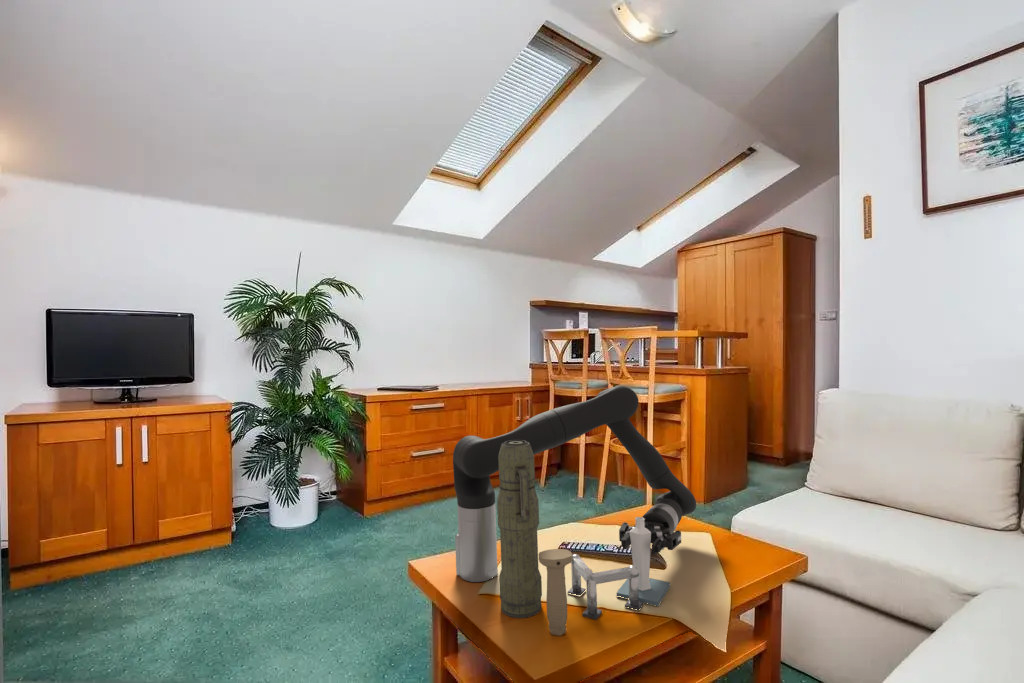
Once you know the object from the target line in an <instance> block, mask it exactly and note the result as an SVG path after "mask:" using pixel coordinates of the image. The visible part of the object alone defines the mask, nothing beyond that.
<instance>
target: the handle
mask: <svg viewBox="0 0 1024 683" xmlns="http://www.w3.org/2000/svg"><path fill="white" fill-rule="evenodd" d="M572 555H573V553H572V552H571V551H570V550H569V549H563V548H562V549H561V548H552V549H546V550H542V551H539V552H538V563H540V564H541V565H542V566H544V567H546V572H547V573H546V615H547V621H548V628H549V632H550V634H551V635H555V636H557V637H561V636H562V635H564V634H566V632H567V621H568V620H567V619H568V597H567V595H568V594H567V588H566V587H567V586H566V577H565V576H566V574H565V572H566V571H565V569H566V568H565V567H566V566H567V565H569V564H571V562H572Z"/></svg>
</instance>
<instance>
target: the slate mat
mask: <svg viewBox="0 0 1024 683" xmlns="http://www.w3.org/2000/svg"><path fill="white" fill-rule="evenodd" d="M649 582H650V586H651V589H648V590H644V591H641V590H639V589H638V592H639V601H642V602H643V603H648V604H652V605H656V606H658V607H659V606H660V605H661V603H662V601H663V600H662V599H664V598H665V596H666V595H667V593H668V591H669V589H670V588H671V582H670V581H665V580H662V579H661V580H660V579H655V578H652V577H651V578H650V577H649ZM665 594H666V595H665ZM617 596H621V597H624V598H629V585H628V579H625V581H624V583H622V585H621V586H620V588H618V590H617V591H616V597H617ZM663 597H664V598H663ZM660 602H661V603H660ZM648 604H647V605H648ZM659 604H660V605H659ZM652 605H651V606H652ZM656 606H655V607H656Z"/></svg>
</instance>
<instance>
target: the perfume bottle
mask: <svg viewBox="0 0 1024 683" xmlns="http://www.w3.org/2000/svg"><path fill="white" fill-rule="evenodd" d="M634 520H635V525H636V527H634V526H633V527H634V528H632V529H631V530H630V539H631V545H630V547H631V558H632V565H634V566H636V567H637V568H638V569H639V576H638V589H639V590H641V591H644V590H648V589H651V586H650V582H649V578H650V567H651V566H650V565H651V564H650V563H651V547H652V543H651V532H650V531H649V530H648V529H647V528H645V527H644V520H645V519H644V518H643V516H636V517H635V518H634Z"/></svg>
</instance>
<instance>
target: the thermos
mask: <svg viewBox="0 0 1024 683" xmlns="http://www.w3.org/2000/svg"><path fill="white" fill-rule="evenodd" d="M498 459H499V471H498V480H499V483H500V484H499V490H498V495H497V498H496V506H497V507H496V509H497V510H496V511H497V512H496V514H497V527H498V528H499V533H500V535H499V536H500V559H501V560H500V562H501V563H500V564H501V566H500V567H501V570H500V573H499V575H498V578H499V581H498V582H499V598H500V610H501V612H502V613H503V614H504V615H505V616H507V617H510V618H517V619H523V618H524V619H526V618H531V617H534V616H535V615H537V614H539V612H541V610H542V606H543V605H542V597H543V587H542V585H543V584H542V583H543V582H542V574H541V572H540V569H539V549H538V548H539V546H538V545H539V544H538V543H539V542H538V527H539V525H540V510H539V508H540V505H539V504H540V503H539V497H538V495H537V492H536V484H535V478H536V476H535V471H536V470H535V455H534V454H533V451H532V448H531V446H530V443H529V442H526V441H524V440H509V441H506V442H505V443H503V444H502V445H501V448H500V452H499V456H498Z"/></svg>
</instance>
